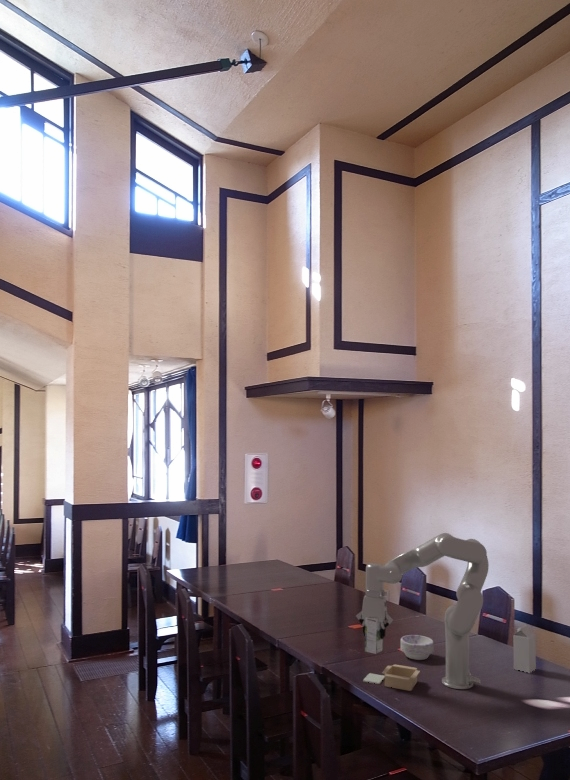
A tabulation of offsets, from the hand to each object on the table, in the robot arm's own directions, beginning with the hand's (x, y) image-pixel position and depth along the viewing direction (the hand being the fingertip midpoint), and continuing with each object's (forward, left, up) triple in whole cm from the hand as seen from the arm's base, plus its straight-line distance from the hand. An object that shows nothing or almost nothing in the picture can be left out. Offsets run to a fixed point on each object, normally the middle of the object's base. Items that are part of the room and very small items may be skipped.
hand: (374, 636), depth 268 cm
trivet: (0, 0, -18) cm, 18 cm away
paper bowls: (-10, -37, -18) cm, 42 cm away
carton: (-12, 0, -18) cm, 21 cm away
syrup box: (0, 0, -6) cm, 6 cm away
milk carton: (-57, -42, -18) cm, 73 cm away
